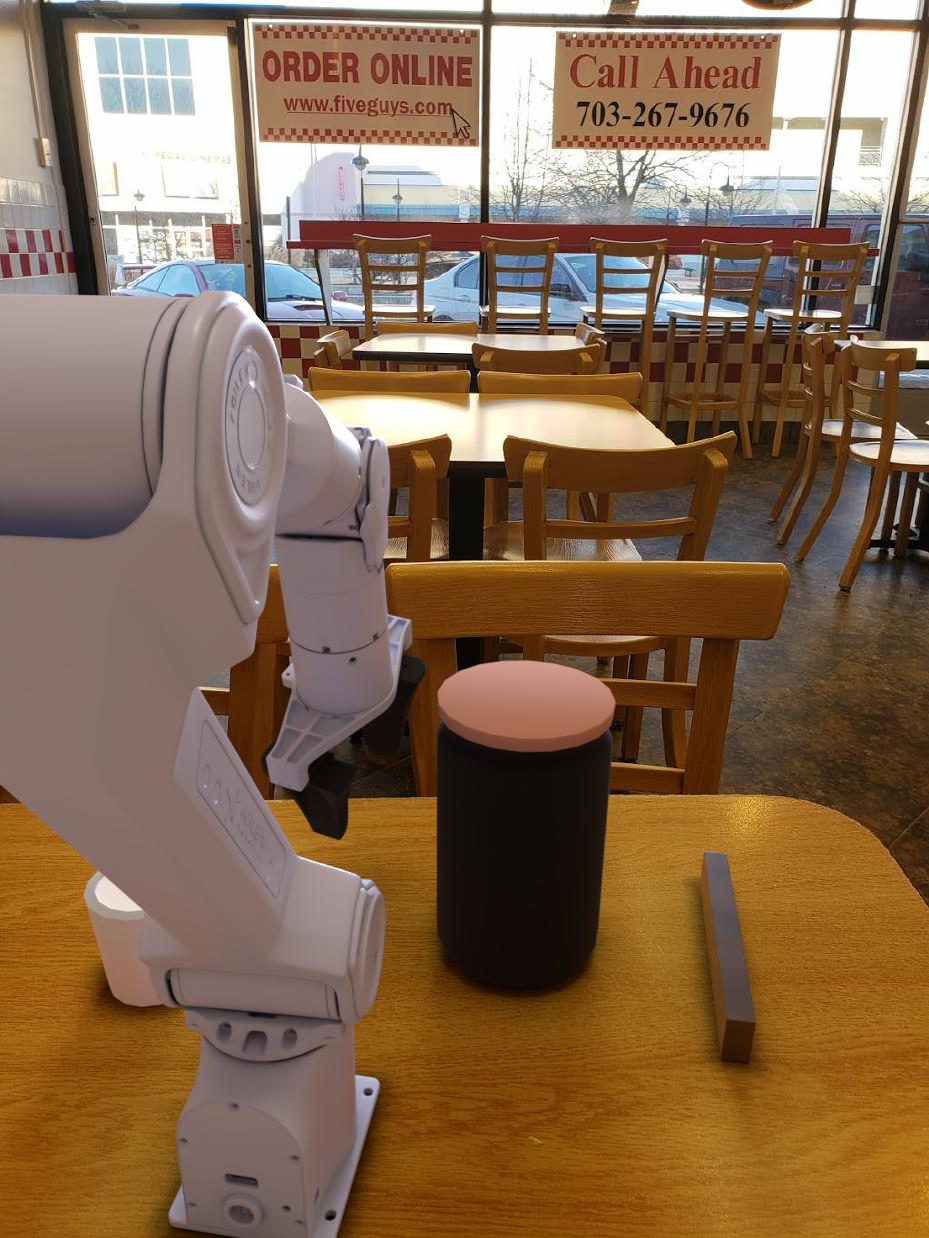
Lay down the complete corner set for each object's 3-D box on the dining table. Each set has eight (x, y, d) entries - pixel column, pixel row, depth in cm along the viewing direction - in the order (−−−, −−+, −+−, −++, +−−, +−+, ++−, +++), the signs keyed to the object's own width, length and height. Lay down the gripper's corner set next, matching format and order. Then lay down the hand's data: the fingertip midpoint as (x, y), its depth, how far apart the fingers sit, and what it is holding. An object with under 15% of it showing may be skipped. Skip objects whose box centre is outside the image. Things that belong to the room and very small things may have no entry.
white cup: (195, 1015, 56) (183, 920, 53) (80, 1012, 56) (63, 917, 53) (224, 937, 62) (216, 848, 60) (122, 935, 62) (108, 846, 60)
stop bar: (749, 1063, 53) (756, 1022, 52) (720, 1059, 53) (726, 1018, 52) (722, 888, 68) (726, 853, 67) (699, 885, 68) (703, 850, 67)
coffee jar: (594, 894, 67) (612, 663, 60) (599, 1005, 57) (621, 743, 50) (445, 883, 68) (447, 655, 61) (425, 991, 58) (424, 732, 51)
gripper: (337, 547, 60) (355, 706, 68) (204, 683, 49) (244, 853, 58) (438, 569, 58) (444, 731, 66) (321, 716, 47) (345, 888, 55)
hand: (357, 790), depth 62 cm, fingers open, 7 cm apart
